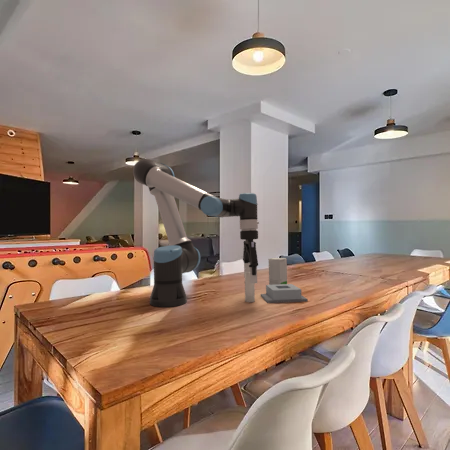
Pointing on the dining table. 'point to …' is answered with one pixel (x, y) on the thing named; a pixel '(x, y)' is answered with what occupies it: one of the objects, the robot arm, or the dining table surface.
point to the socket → (283, 294)
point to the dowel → (249, 289)
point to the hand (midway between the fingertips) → (250, 280)
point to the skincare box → (277, 271)
